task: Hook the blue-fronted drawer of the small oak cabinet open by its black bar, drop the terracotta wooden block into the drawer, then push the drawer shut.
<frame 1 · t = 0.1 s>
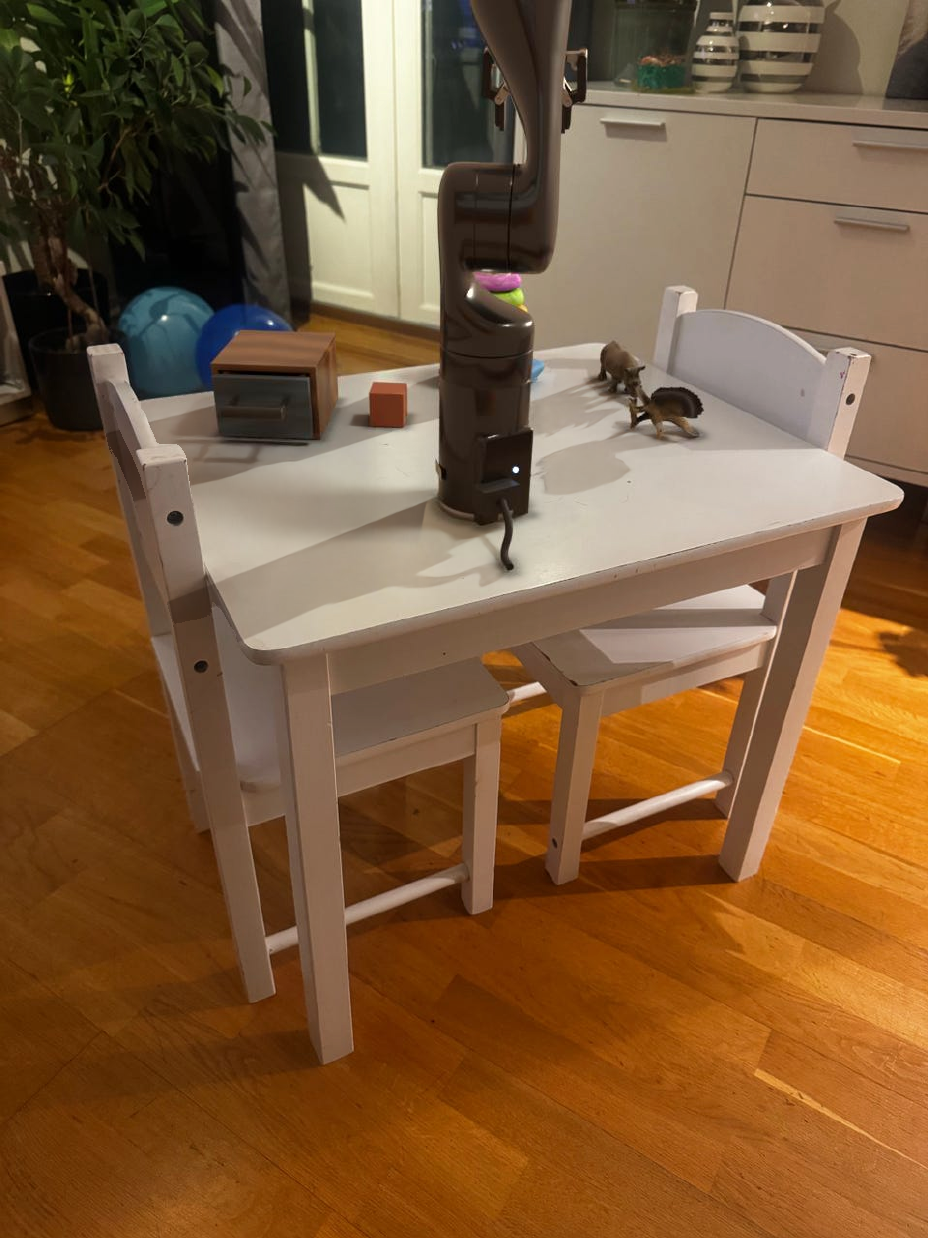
hand: (532, 129, 129), 31 cm above the table, tool tilted 20°, fingers open, 8 cm apart
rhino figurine: (620, 392, 131), on the table
drawer: (269, 396, 113), point 5 cm above the table, slide at 1.0 cm
cabinet: (282, 416, 120), on the table
brown plastic figure: (661, 434, 118), on the table
block: (388, 420, 119), on the table
stacking toy: (489, 382, 134), on the table
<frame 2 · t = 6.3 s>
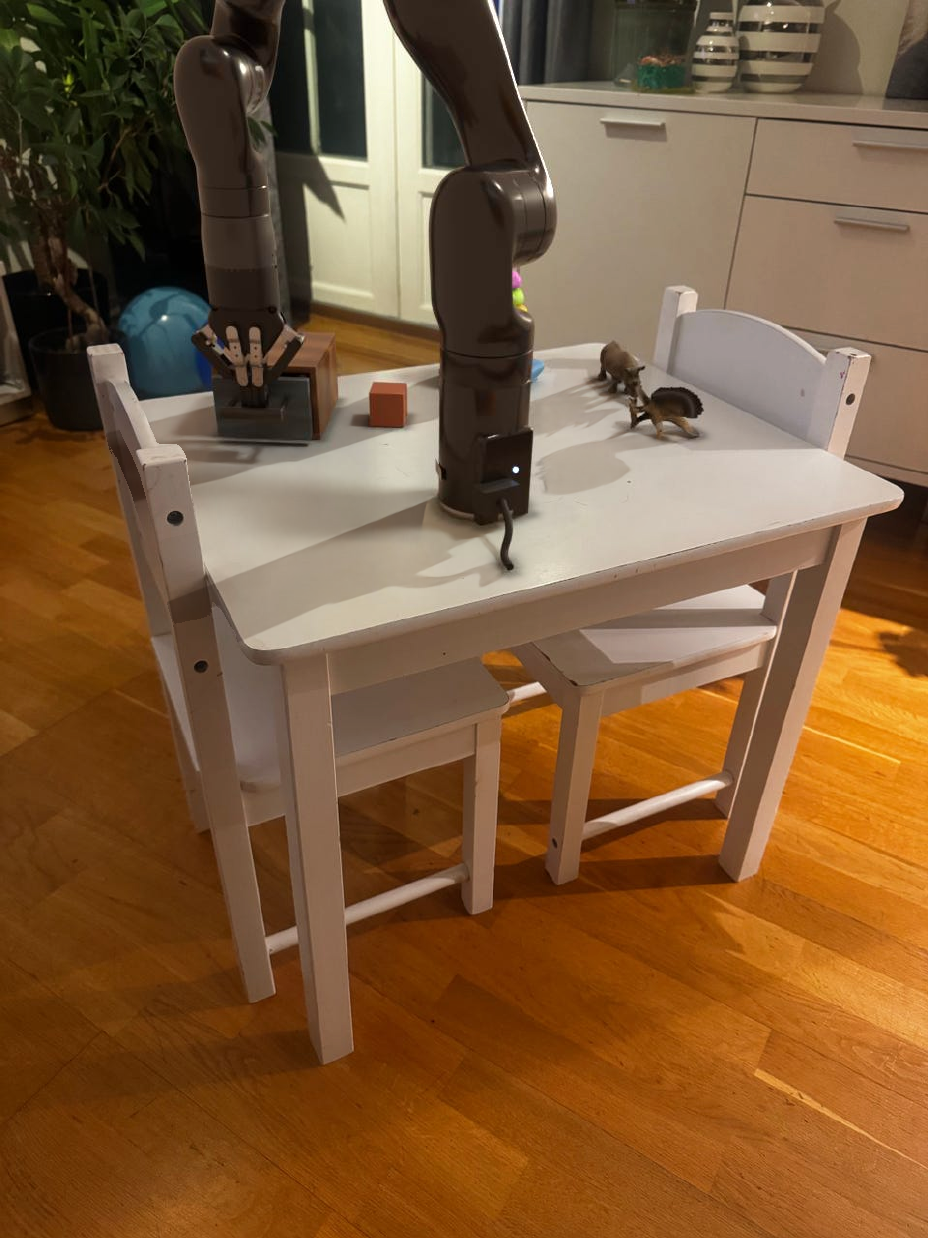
hand: (256, 414, 107), 5 cm above the table, tool pointing down, fingers closed
drawer: (269, 397, 113), point 5 cm above the table, slide at 1.2 cm, touching gripper
everything else where it was.
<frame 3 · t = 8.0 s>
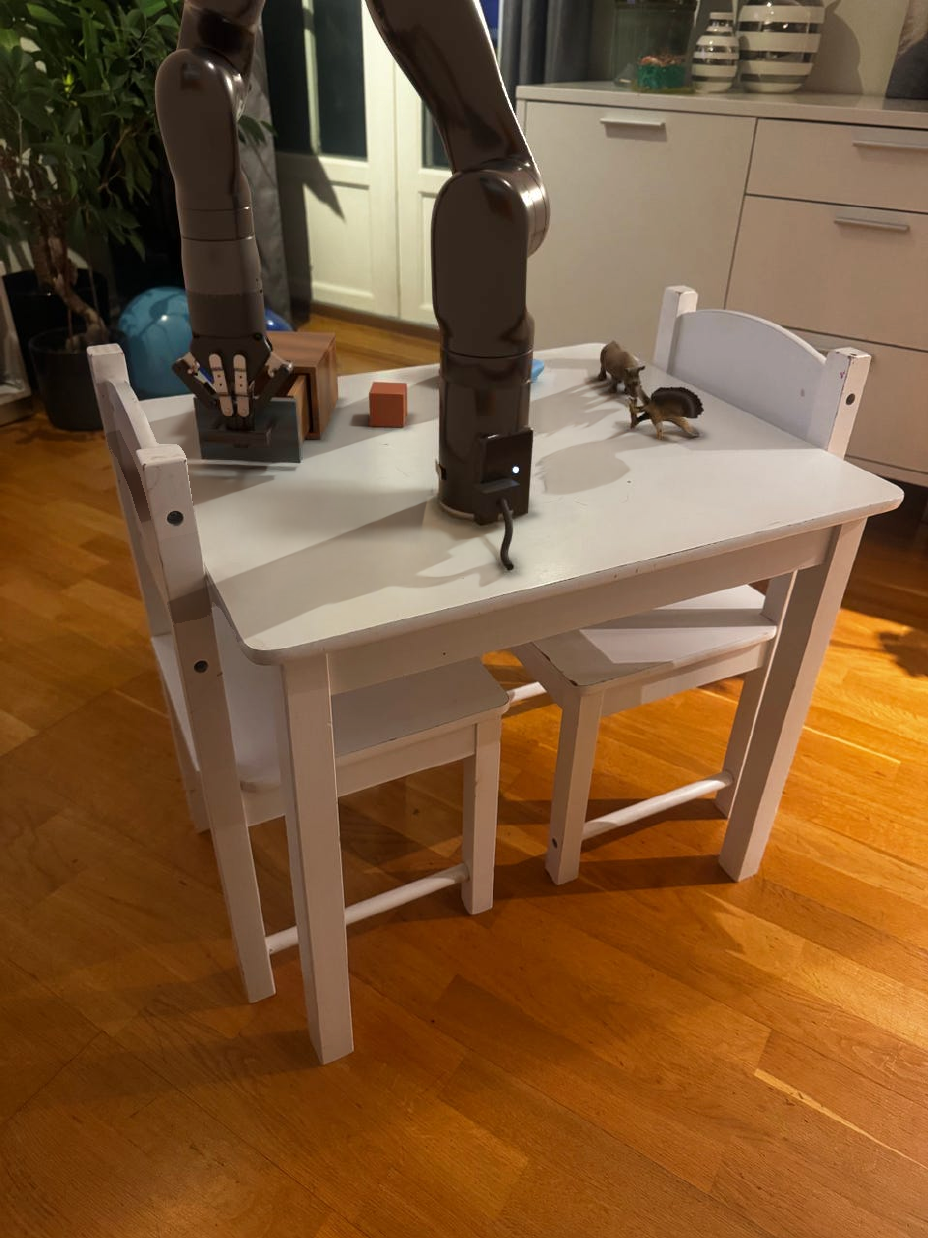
hand: (242, 445, 101), 4 cm above the table, tool pointing down, fingers closed
drawer: (256, 418, 107), point 5 cm above the table, slide at 8.4 cm, touching gripper
everything else where it was.
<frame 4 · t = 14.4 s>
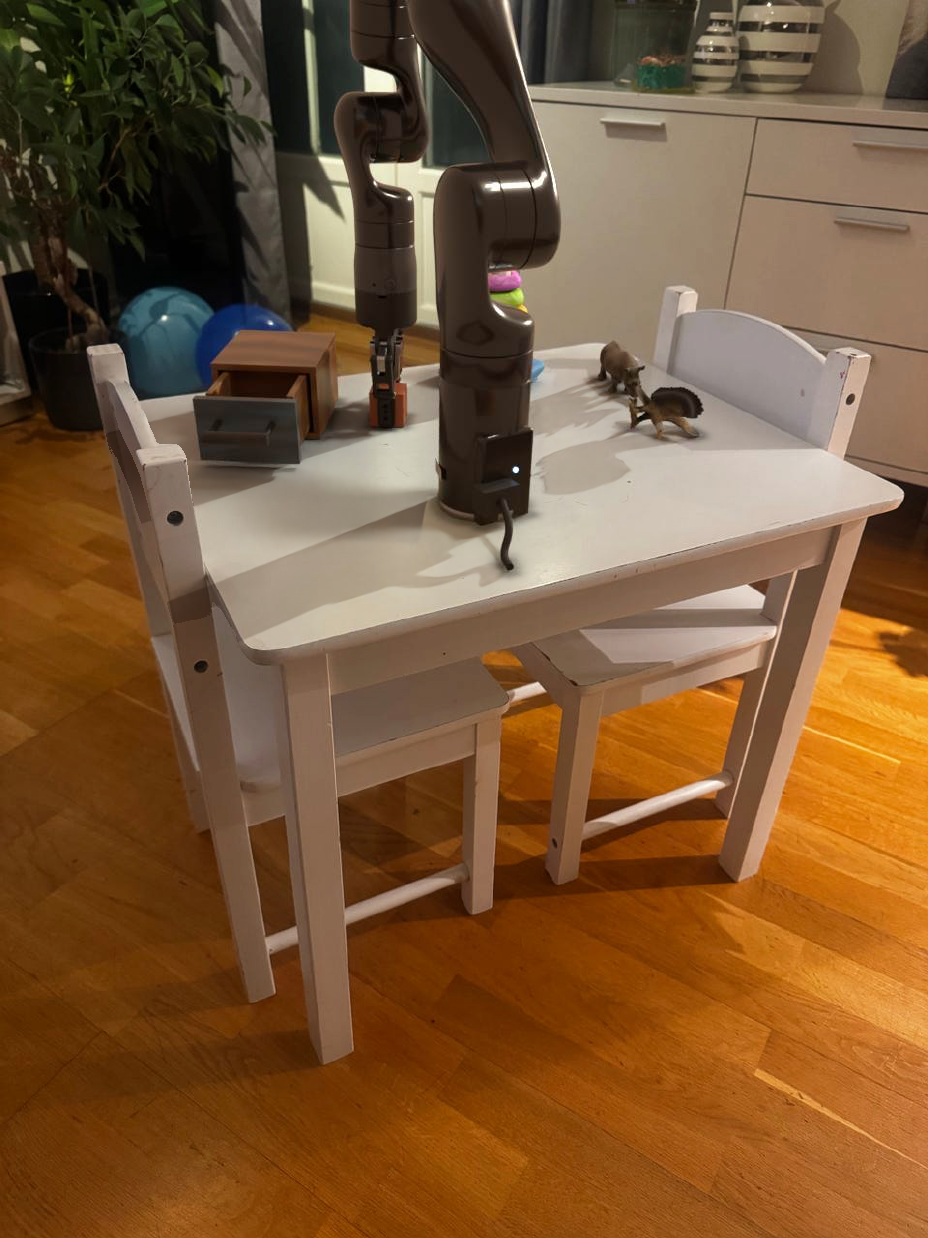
hand: (388, 418, 119), 0 cm above the table, tool pointing down, fingers closed on block, 4 cm apart
drawer: (255, 419, 106), point 5 cm above the table, slide at 8.7 cm
block: (388, 420, 119), on the table, touching gripper
everything else where it was.
when the fingers open (8 cm above the table, at t = 20.3 s): block drops 6 cm, resting on drawer.
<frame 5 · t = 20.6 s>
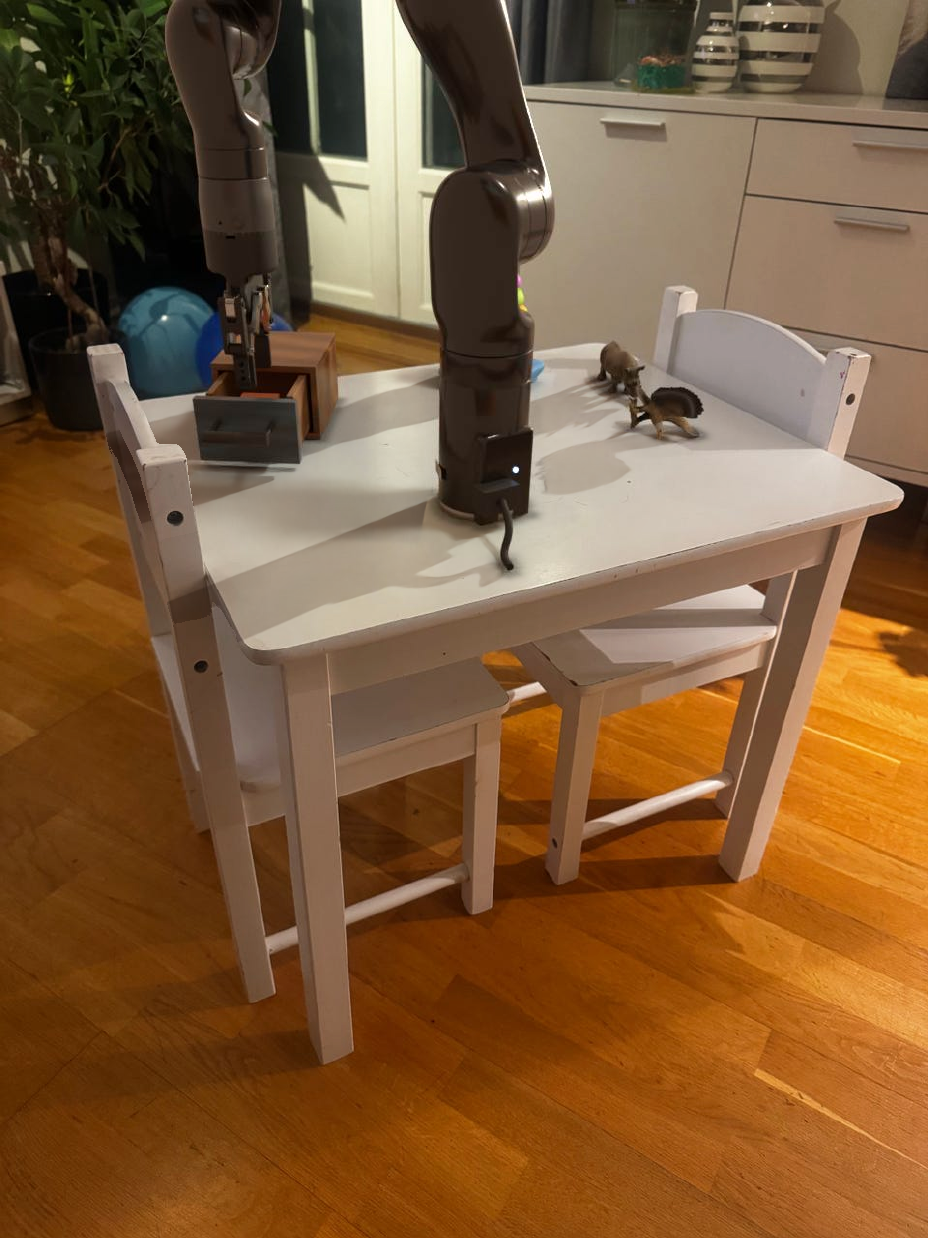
hand: (254, 377, 105), 9 cm above the table, tool pointing down, fingers open, 7 cm apart
drawer: (255, 419, 106), point 5 cm above the table, slide at 8.7 cm, touching block
block: (260, 434, 109), point 2 cm above the table, touching drawer
everything else where it was.
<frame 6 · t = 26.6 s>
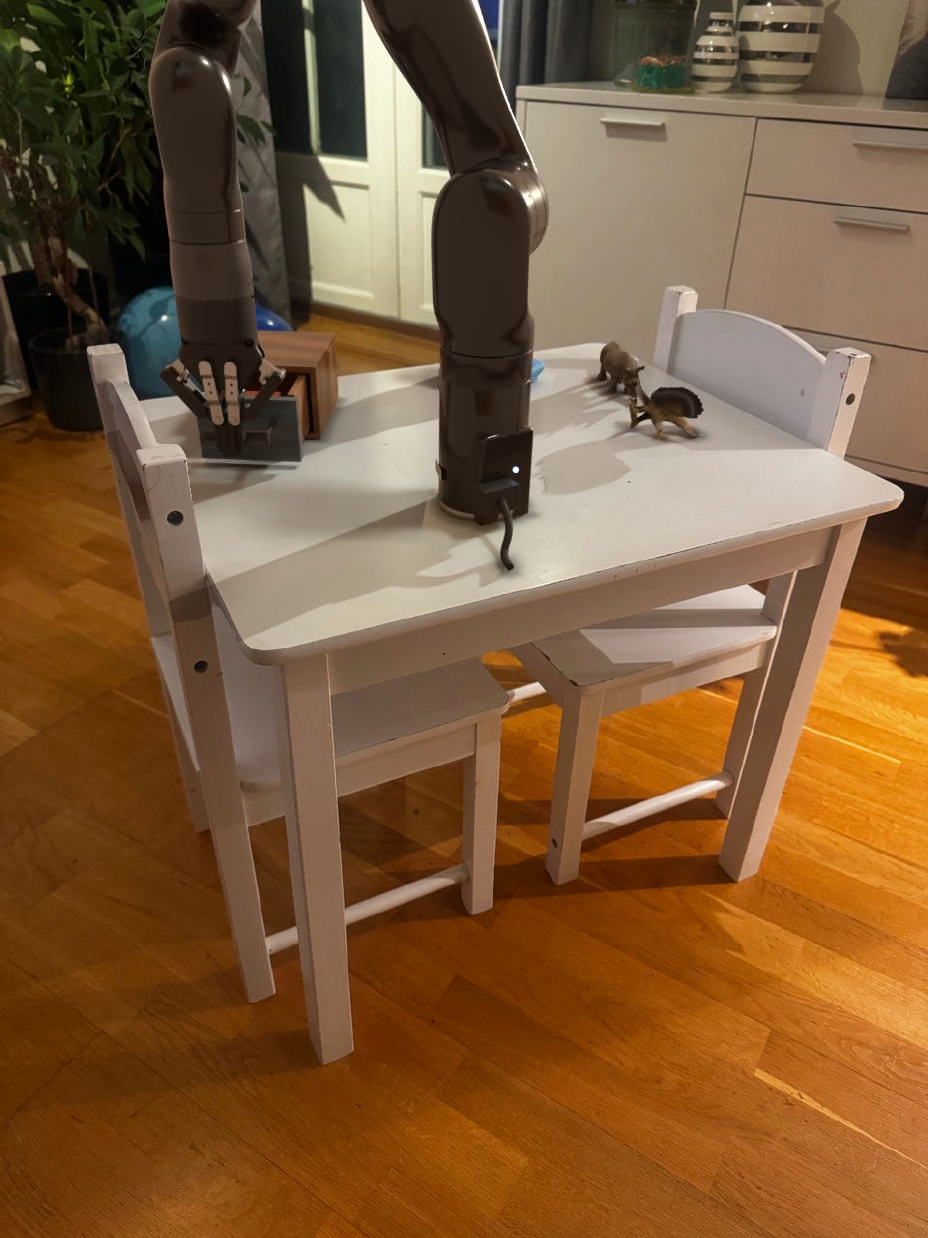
hand: (233, 454, 98), 4 cm above the table, tool pointing down, fingers closed
drawer: (256, 417, 107), point 5 cm above the table, slide at 8.1 cm, touching block, gripper
everything else where it was.
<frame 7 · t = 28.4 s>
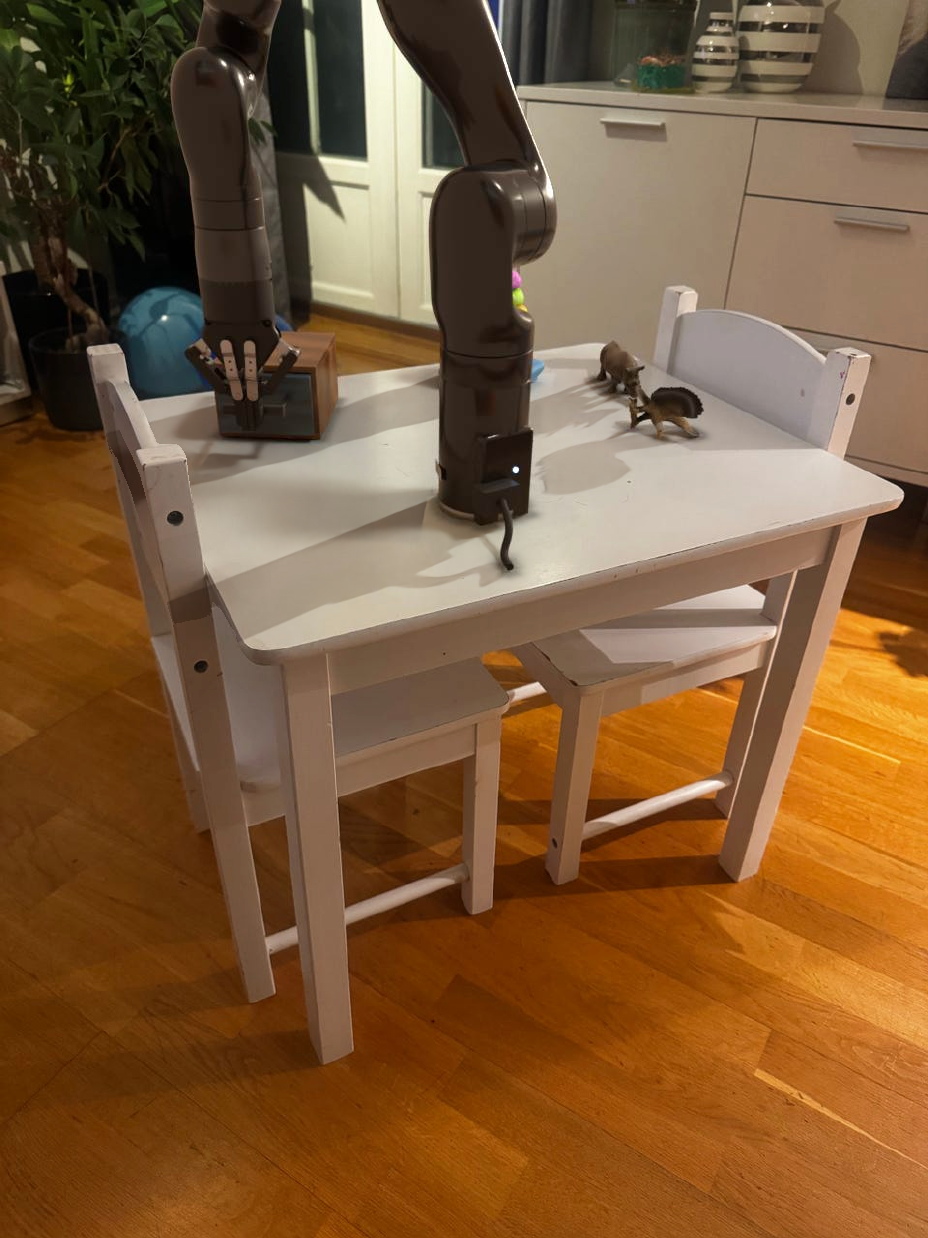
hand: (251, 429, 105), 4 cm above the table, tool pointing down, fingers closed
drawer: (271, 394, 114), point 5 cm above the table, slide at 0.0 cm, touching block, cabinet, gripper
block: (276, 409, 116), point 2 cm above the table, touching drawer
everything else where it was.
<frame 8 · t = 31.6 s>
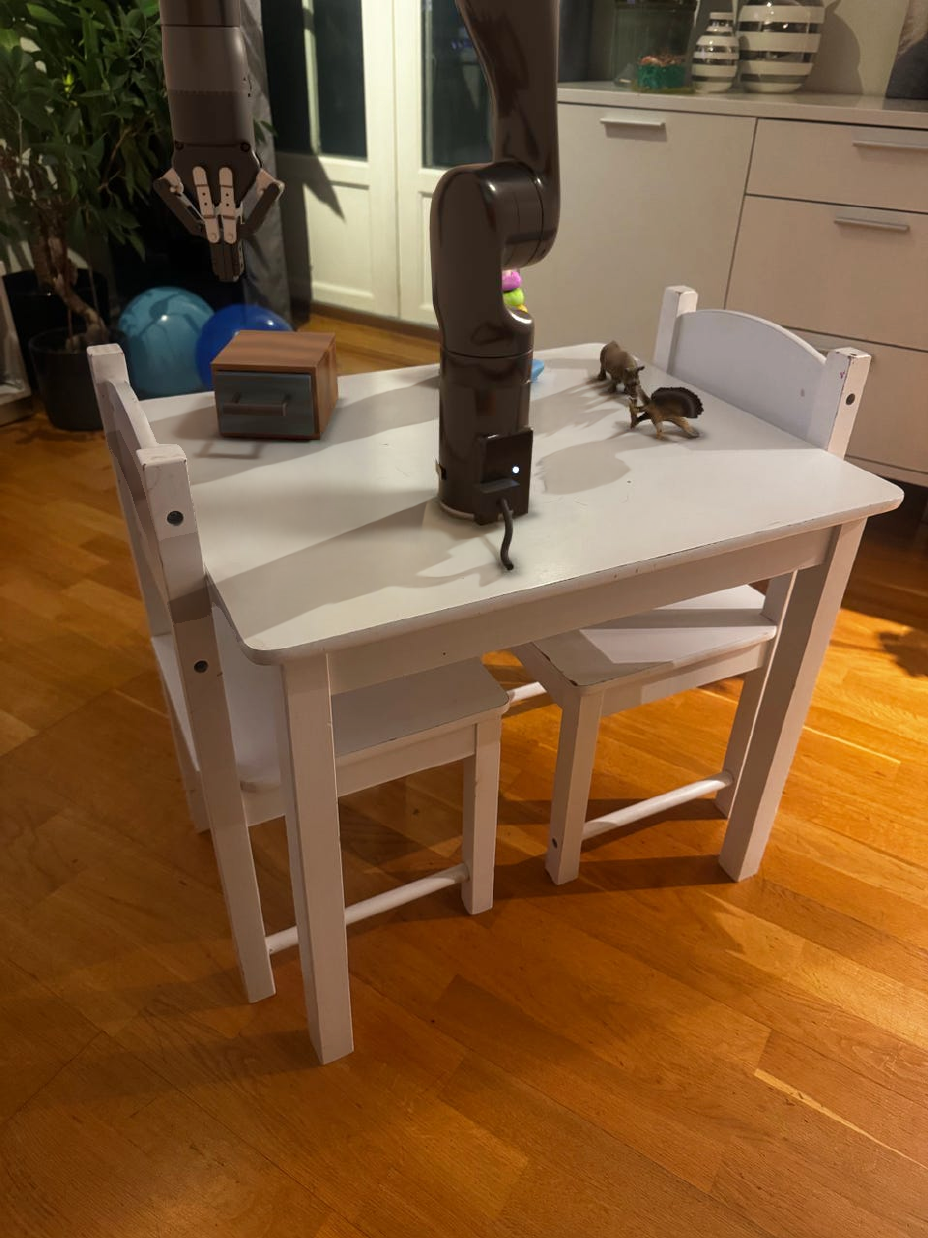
hand: (230, 279, 94), 21 cm above the table, tool pointing down, fingers closed
drawer: (271, 394, 114), point 5 cm above the table, slide at 0.0 cm, touching block
everything else where it was.
at the end: drawer pulled out 8.7 cm at the most during the clip, back to where it started at the end; block inside the target area in the cabinet (2.8 cm from its centre), point 2.0 cm above the cabinet's base; drawer slide at 0.0 cm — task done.
